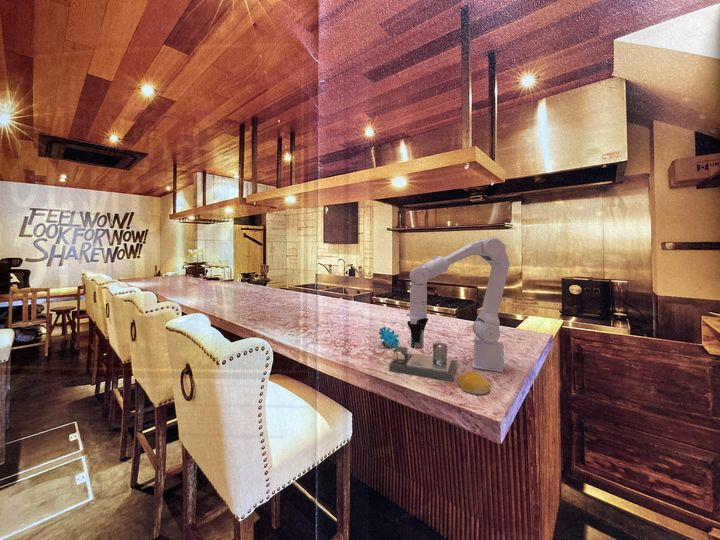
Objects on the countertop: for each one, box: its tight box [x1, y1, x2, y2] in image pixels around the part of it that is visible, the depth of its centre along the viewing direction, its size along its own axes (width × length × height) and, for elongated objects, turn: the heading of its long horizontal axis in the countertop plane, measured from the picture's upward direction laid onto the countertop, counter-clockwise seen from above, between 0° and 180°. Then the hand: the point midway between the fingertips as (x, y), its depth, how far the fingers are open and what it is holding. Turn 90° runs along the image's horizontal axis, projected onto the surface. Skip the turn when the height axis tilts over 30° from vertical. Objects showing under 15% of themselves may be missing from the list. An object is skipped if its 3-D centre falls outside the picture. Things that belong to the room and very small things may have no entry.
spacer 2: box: [432, 342, 448, 365], centre depth 95 cm, size 4×4×6 cm
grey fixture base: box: [388, 345, 458, 382], centre depth 97 cm, size 20×13×6 cm, turn 67°
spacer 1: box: [410, 329, 425, 350], centre depth 101 cm, size 4×4×6 cm
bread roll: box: [457, 371, 491, 395], centre depth 83 cm, size 8×9×4 cm
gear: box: [378, 326, 400, 349], centre depth 123 cm, size 11×6×10 cm
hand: (417, 340), depth 101 cm, fingers closed on spacer 1, 4 cm apart
